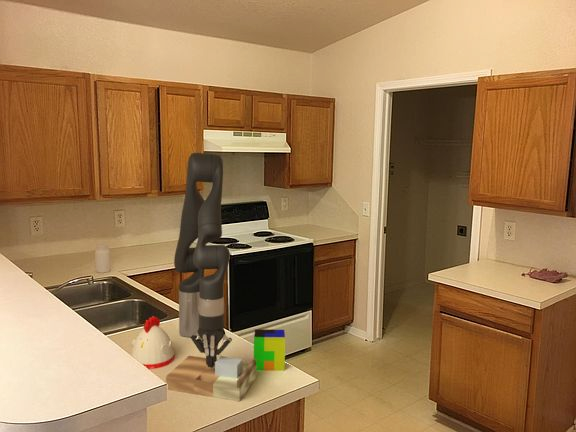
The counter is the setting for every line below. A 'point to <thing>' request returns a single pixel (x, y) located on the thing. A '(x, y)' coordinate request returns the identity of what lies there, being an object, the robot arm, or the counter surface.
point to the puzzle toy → (269, 349)
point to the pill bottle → (102, 259)
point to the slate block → (228, 367)
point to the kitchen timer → (153, 346)
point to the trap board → (209, 379)
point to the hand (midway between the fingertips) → (211, 366)
